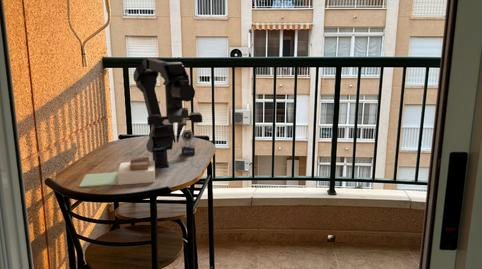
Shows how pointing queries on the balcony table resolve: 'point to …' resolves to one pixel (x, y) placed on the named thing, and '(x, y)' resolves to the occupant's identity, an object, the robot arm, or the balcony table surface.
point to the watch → (188, 143)
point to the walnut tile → (139, 164)
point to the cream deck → (136, 174)
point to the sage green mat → (99, 179)
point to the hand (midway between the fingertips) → (176, 142)
